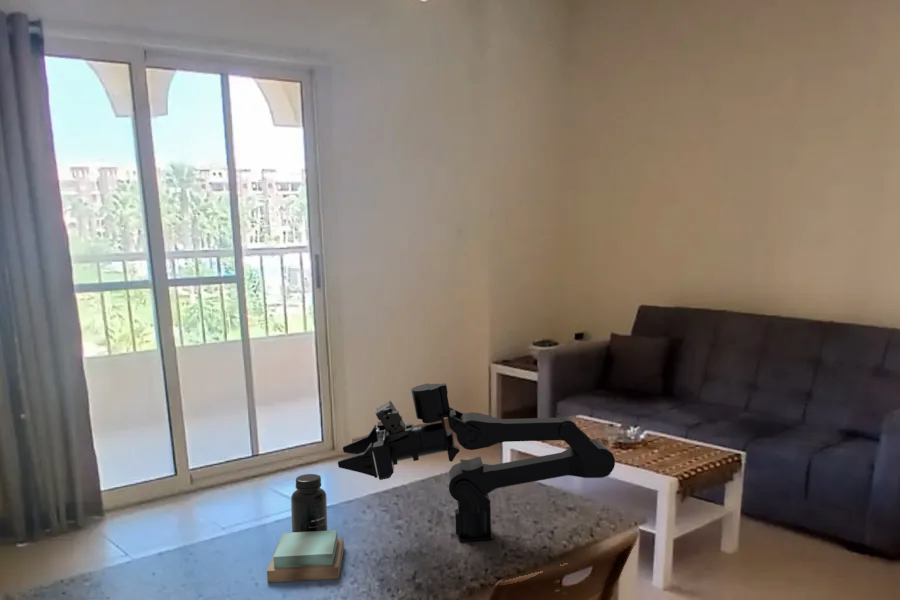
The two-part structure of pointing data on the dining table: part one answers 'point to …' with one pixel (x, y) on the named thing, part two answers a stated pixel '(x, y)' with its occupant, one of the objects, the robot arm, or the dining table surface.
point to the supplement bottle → (309, 505)
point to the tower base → (307, 570)
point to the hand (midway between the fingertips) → (340, 456)
